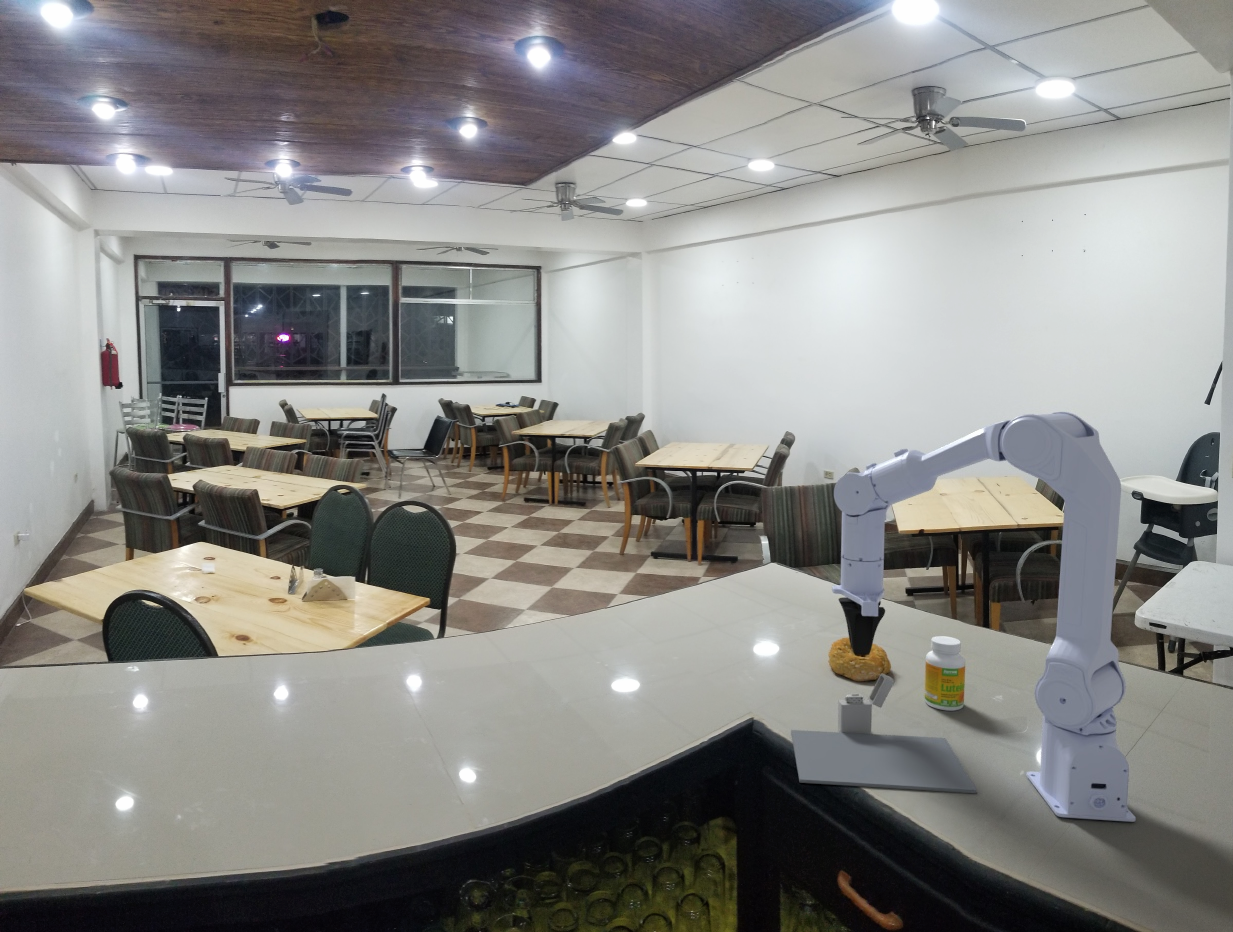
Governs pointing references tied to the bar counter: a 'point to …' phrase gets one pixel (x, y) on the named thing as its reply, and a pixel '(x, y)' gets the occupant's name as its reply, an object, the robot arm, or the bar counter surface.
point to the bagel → (858, 661)
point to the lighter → (862, 707)
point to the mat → (879, 761)
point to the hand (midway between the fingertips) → (860, 651)
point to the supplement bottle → (945, 674)
